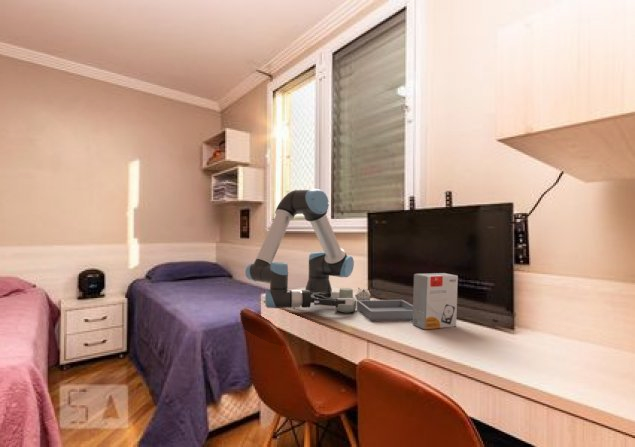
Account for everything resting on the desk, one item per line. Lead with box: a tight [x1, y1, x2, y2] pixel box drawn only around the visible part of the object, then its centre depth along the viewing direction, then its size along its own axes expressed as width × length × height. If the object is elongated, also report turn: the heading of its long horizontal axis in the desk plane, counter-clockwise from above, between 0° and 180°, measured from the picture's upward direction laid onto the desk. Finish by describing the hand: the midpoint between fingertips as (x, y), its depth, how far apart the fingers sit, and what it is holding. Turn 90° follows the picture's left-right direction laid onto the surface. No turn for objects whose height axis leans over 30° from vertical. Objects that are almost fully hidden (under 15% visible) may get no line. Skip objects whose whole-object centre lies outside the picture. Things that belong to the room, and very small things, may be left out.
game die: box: [354, 287, 373, 301], centre depth 165 cm, size 9×8×10 cm
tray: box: [356, 299, 413, 322], centre depth 148 cm, size 20×22×4 cm
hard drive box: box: [411, 272, 459, 330], centre depth 132 cm, size 16×8×20 cm, turn 112°
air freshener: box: [334, 287, 357, 314], centre depth 152 cm, size 11×8×10 cm
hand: (348, 298), depth 152 cm, fingers open, 13 cm apart
